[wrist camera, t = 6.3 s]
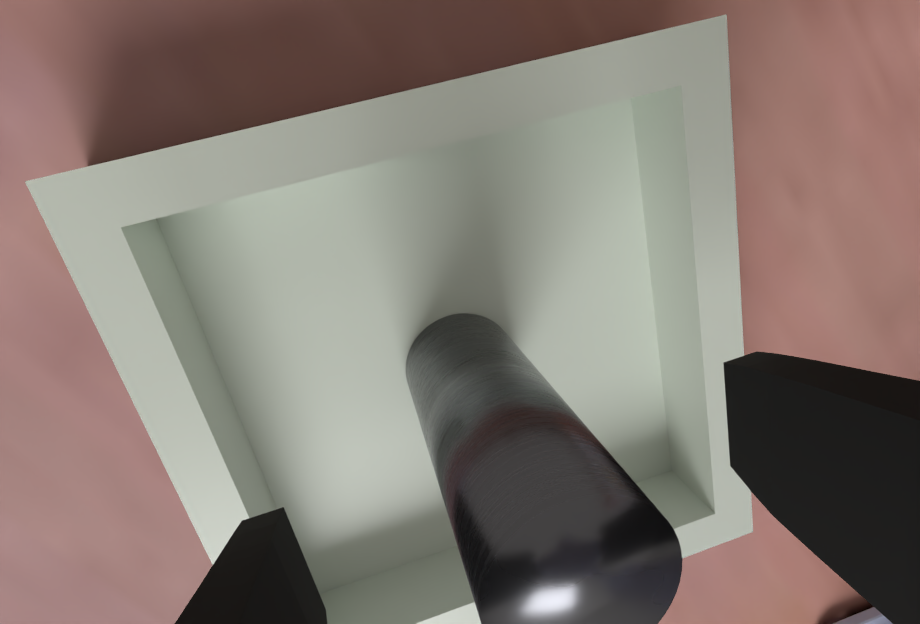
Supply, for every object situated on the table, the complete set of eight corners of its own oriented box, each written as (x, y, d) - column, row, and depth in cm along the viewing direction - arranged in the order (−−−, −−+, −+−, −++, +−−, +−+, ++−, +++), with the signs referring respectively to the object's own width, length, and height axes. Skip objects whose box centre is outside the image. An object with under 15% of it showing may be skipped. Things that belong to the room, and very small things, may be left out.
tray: (653, 33, 13) (726, 14, 10) (694, 475, 17) (753, 531, 15) (86, 168, 11) (25, 181, 9) (288, 620, 15) (282, 708, 13)
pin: (507, 302, 13) (678, 470, 7) (521, 402, 14) (685, 637, 8) (395, 326, 13) (463, 530, 6) (416, 428, 14) (495, 699, 7)
